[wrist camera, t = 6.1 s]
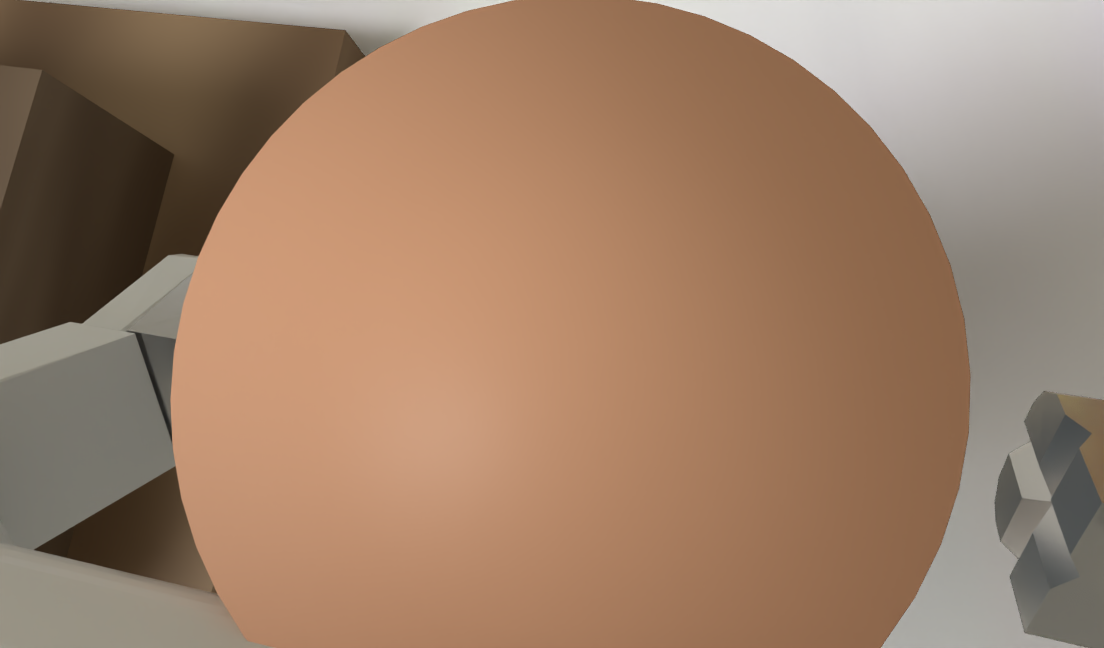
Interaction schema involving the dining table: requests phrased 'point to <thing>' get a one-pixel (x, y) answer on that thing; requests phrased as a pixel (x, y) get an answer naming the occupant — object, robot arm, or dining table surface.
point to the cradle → (131, 188)
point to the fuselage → (571, 351)
